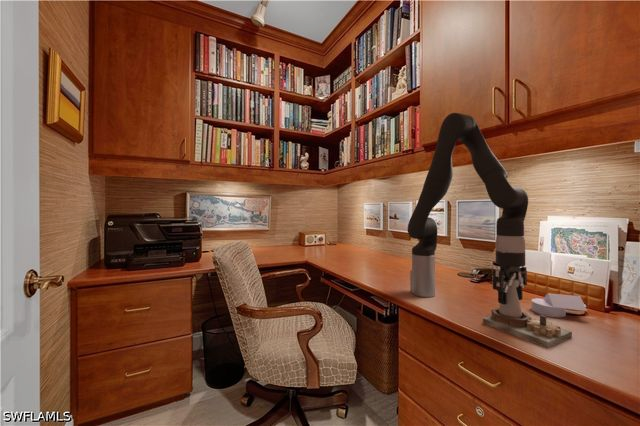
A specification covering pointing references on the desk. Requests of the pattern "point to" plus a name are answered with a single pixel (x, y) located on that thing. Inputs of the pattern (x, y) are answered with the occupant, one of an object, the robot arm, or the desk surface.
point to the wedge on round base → (557, 304)
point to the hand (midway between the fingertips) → (510, 301)
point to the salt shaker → (511, 302)
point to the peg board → (529, 328)
